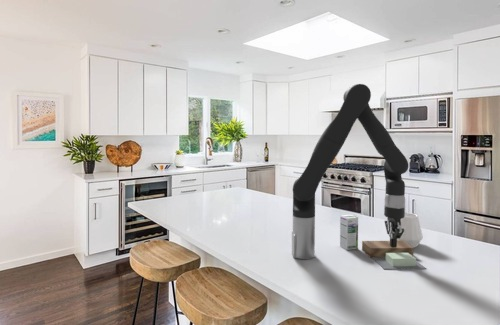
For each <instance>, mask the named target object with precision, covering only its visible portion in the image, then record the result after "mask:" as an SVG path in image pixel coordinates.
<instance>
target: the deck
mask: <svg viewBox="0 0 500 325" xmlns="http://www.w3.org/2000/svg"><path fill="white" fill-rule="evenodd" d="M414 248H415V247H411V246H410V245H409V244H407V243H406V242H404V241H397V247H396V248H392V247H391V246H390V240H362V242H361V250H362V251H363V253H365V254H366V256H368V257H369V258H371V259H373V257H386V253H409V254H410V255H412V256H413V257H414Z"/></svg>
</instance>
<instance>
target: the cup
mask: <svg viewBox="0 0 500 325" xmlns="http://www.w3.org/2000/svg"><path fill="white" fill-rule="evenodd" d="M401 228H402V229H404V232H403V234H402V236H401V237H400V239H397V241H404V242H406V243H407V244H409V245H410V246H411V247H413V248H416V247H418V245H419V244H420V242H421V241H422V240H423V232H422V228H421V223H420V220H419V216H418V215H417V214H416V213H412V212H405V216H404V218H402V219H401Z"/></svg>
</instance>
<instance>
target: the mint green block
mask: <svg viewBox="0 0 500 325" xmlns="http://www.w3.org/2000/svg"><path fill="white" fill-rule="evenodd" d="M386 261H387V262H388V263H389V264H390V265H391V266H416V261H417V258H416V257H414V255H413V256H412V255H410V254H409V253H386Z"/></svg>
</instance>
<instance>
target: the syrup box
mask: <svg viewBox="0 0 500 325" xmlns="http://www.w3.org/2000/svg"><path fill="white" fill-rule="evenodd" d="M339 246H340V247H341V248H342V249H343V250H346V251H349V250H358V248H359V217H358V216H356V215H354V214H343V215H340V217H339Z"/></svg>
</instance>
